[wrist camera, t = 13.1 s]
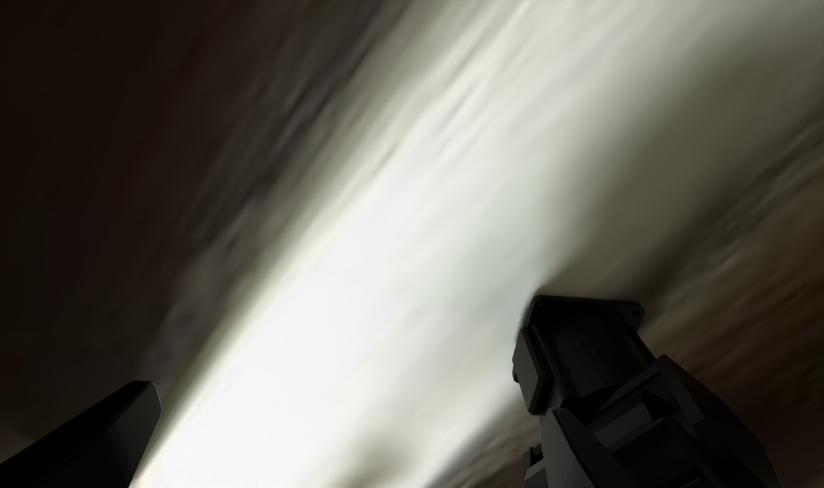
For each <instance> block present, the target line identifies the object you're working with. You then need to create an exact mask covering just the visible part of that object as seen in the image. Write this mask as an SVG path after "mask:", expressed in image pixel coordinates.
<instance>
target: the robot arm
mask: <svg viewBox="0 0 824 488" xmlns="http://www.w3.org/2000/svg"><path fill="white" fill-rule="evenodd" d="M540 303H544V304H543V305H542V306H538V305H539V304H540ZM634 310H636V311H635V312H634V313H632V312H633V311H634ZM644 312H645V311H644V309H643V307H642V306H641V305H640V304H639V303H636V302H624V301H611V300H598V299H586V298H573V297H560V296H547V295H539V296H536V297H535V298H534V299H533V300H532V302H531V306H530V309H529V313H528V317H527V320H526V324H525V326H524V327H522V328H521V329H520V332H519V336H518V340H517V343H516V347H515V351H514V354H513V358H512V362H513V365H514V368H513V371H512V375H513V379H514V381H515V382H517V383H519V384H520V387H521V391H522V394H523V397H524V400H525V404H526V407H527V410H528V411H529V413H530V414H531V415H538V417H539V420H540V423H541V426H542V429H541V434H540V439H541V443H540V444H538V445H537V446H536V447H534V448H533V447H530V448H529V449H528V450H526V451H525V452H523V471H522V488H783V486H782V484H781V482H780V479H779V477H778V475H777V473H776V471H775V469H774V467H773V465H772V463H771V461H770V459H769V457H768V455H767V453H766V451H765V449H764V447H763V445H762V444H761V442H760V441H759V440H758V439H757V438H756V437H755V436H754V434H753V433H752V432H751V431H750V430H749V429H748V428H747V427H746V426H745V425H744V424H743V423H742V421H741V420H740V419H739V418H738V417H737V416H736V415H735V414H734V413H733V412H732V411H731V409H730V408H729V407H728V406H727V405H726V404H725V403H724V402H723V401H722V400H721V399H720V398H719V397H717V396H716V395H715V394H714V393H712V392H711V391H710V390H709V389H708V388H706V387H705V386H704V385H703V384H701V383H700V382H699V381H698V380H696V379H695V378H694V377H693V376H691V375H690V374H689V373H688V372H686V371H685V370H684V369H683V368H682V367H680V366H679V365H678V364H677V363H675V362H674V361H673V360H672V359H670V358H669V357H668V356H667V355H665V354H663V355H661V356H660V357H658V358H657V359H656V358H655V357H654V356H653V354H652V353H651V352H650V350H649V349H648V348H647V346H646V345H645V344H644V343H643V341H642V340H641V339H640V337H639V336H638V335H637V333H636V332H637V330H638V327H639V325H640V323H641V320H642V318H643V316H644ZM161 411H162V407H161V403H160V399H159V395H158V391H157V388H156V385H155V384H154V383H153V382H151V381H133V382H131V383H129V384H127V385H126V386H124V387H122V388H121V389H119V390H118V391H116V392H114V393H113V394H111V395H110V396H108V397H106V398H105V399H103V400H102V401H100V402H98V403H97V404H95V405H94V406H92V407H91V408H89V409H87V410H86V411H84V412H83V413H81V414H79V415H78V416H76V417H75V418H73V419H71V420H70V421H68V422H67V423H65V424H63V425H62V426H60V427H59V428H57V429H55V430H54V431H52V432H51V433H49V434H47V435H46V436H44V437H43V438H41V439H40V440H38V441H36V442H35V443H33V444H32V445H30V446H28V447H27V448H25V449H24V450H22V451H20V452H19V453H17V454H16V455H14V456H12V457H11V458H9V459H8V460H6V461H4V462H3V463H1V464H0V488H129V486H130V483H131V481H132V479H133V477H134V475H135V473H136V471H137V468H138V466H139V464H140V462H141V459H142V457H143V455H144V453H145V450H146V448H147V446H148V444H149V441H150V439H151V437H152V435H153V432H154V430H155V428H156V426H157V423H158V421H159V419H160V416H161Z"/></svg>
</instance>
